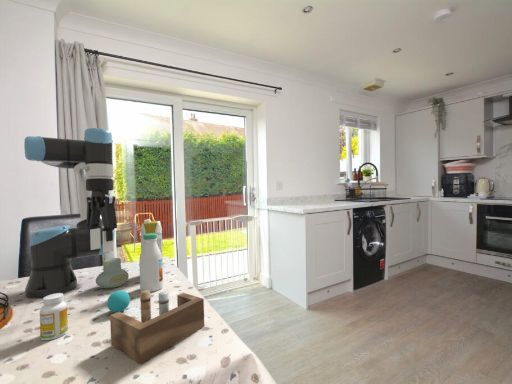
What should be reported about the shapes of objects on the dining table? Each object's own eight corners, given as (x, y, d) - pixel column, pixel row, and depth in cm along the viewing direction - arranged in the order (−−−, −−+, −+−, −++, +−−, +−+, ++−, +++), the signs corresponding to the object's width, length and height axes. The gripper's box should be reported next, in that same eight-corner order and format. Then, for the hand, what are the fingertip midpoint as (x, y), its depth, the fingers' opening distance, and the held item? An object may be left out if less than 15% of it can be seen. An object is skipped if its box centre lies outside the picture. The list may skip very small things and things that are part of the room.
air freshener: (103, 293, 91) (102, 264, 91) (92, 288, 95) (91, 262, 95) (132, 283, 100) (131, 257, 100) (120, 279, 105) (120, 255, 105)
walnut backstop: (111, 345, 59) (110, 315, 59) (174, 314, 73) (173, 289, 73) (140, 364, 52) (139, 329, 52) (204, 325, 66) (203, 298, 66)
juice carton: (144, 273, 112) (142, 218, 112) (163, 271, 114) (161, 217, 114) (141, 280, 103) (139, 220, 103) (162, 278, 105) (160, 219, 105)
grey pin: (157, 326, 66) (156, 293, 66) (165, 322, 68) (164, 290, 68) (163, 329, 65) (162, 295, 65) (171, 325, 67) (170, 292, 67)
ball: (103, 313, 75) (102, 292, 75) (123, 305, 80) (123, 286, 80) (113, 318, 72) (113, 296, 72) (134, 309, 77) (133, 289, 77)
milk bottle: (155, 293, 89) (153, 235, 89) (135, 292, 91) (133, 235, 91) (167, 285, 97) (165, 232, 97) (148, 284, 98) (147, 232, 98)
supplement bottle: (64, 326, 68) (63, 290, 68) (70, 333, 64) (69, 294, 64) (38, 336, 64) (36, 297, 64) (43, 343, 60) (42, 302, 60)
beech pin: (139, 324, 68) (138, 292, 68) (147, 320, 70) (146, 289, 70) (144, 327, 66) (143, 294, 66) (153, 323, 68) (152, 291, 68)
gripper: (72, 179, 84) (74, 249, 84) (102, 176, 72) (105, 256, 72) (97, 180, 90) (99, 245, 90) (128, 176, 79) (130, 251, 79)
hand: (101, 250), depth 81 cm, fingers open, 8 cm apart
